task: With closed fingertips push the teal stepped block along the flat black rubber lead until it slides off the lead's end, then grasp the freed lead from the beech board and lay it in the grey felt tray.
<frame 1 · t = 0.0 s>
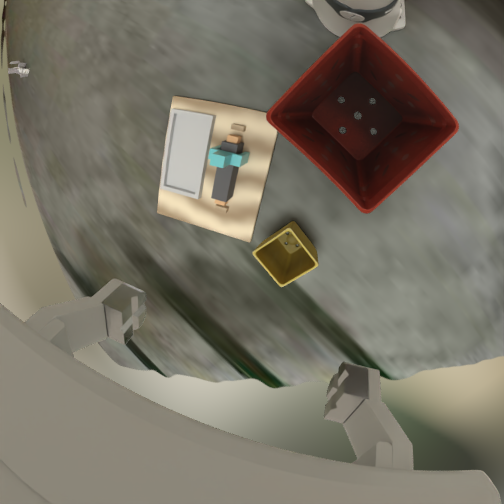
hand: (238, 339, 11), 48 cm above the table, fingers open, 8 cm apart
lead: (230, 168, 57), point 1 cm above the table, touching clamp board
flower pot: (292, 238, 61), on the table
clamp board: (213, 167, 59), on the table
plant pot: (356, 116, 48), on the table
architectural model: (35, 56, 56), on the table
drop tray: (187, 152, 57), resting on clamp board
teal stepped block: (225, 156, 51), point 6 cm above the table, slide at 0.0 cm
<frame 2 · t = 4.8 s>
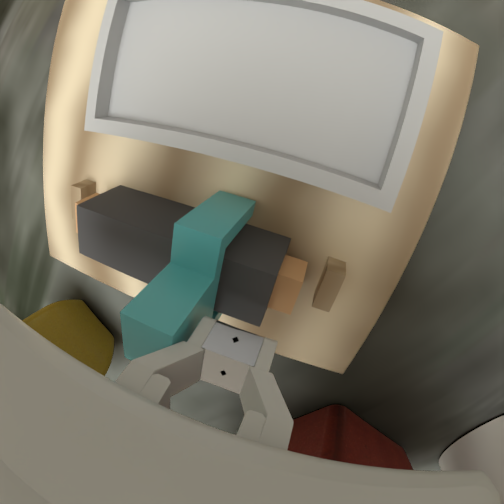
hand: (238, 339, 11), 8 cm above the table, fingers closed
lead: (193, 231, 18), point 1 cm above the table, touching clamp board
flower pot: (90, 323, 28), on the table
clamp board: (196, 157, 17), on the table
plant pot: (325, 443, 26), on the table
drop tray: (243, 68, 13), resting on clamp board
teal stepped block: (195, 285, 13), point 6 cm above the table, slide at 0.8 cm, touching gripper
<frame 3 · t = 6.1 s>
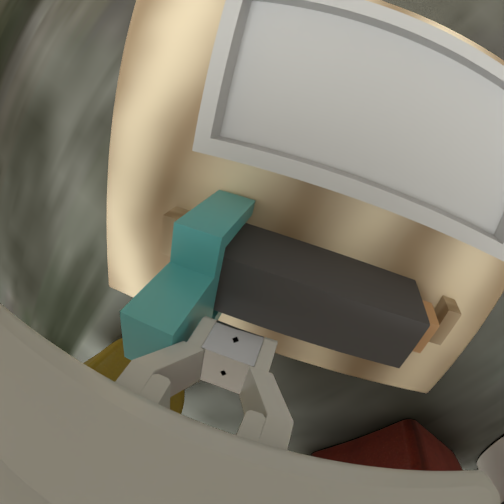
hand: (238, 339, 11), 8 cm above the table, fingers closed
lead: (316, 272, 17), point 1 cm above the table, touching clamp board
flower pot: (150, 355, 26), on the table
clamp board: (323, 193, 16), on the table
plant pot: (384, 454, 25), on the table
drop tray: (393, 109, 12), resting on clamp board
teal stepped block: (194, 284, 13), point 6 cm above the table, slide at 8.2 cm, touching gripper
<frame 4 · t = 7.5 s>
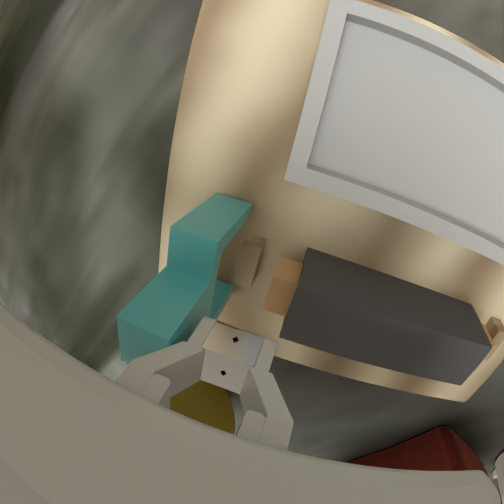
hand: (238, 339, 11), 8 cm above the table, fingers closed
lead: (388, 299, 16), point 1 cm above the table, touching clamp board
flower pot: (192, 376, 26), on the table
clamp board: (399, 224, 15), on the table
plant pot: (414, 458, 25), on the table
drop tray: (471, 149, 11), resting on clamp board
teal stepped block: (191, 288, 13), point 6 cm above the table, slide at 12.9 cm, touching gripper
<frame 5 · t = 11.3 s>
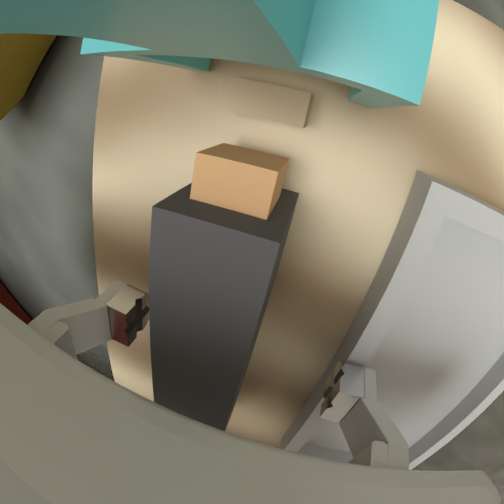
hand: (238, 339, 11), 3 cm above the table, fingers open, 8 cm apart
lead: (228, 308, 13), point 1 cm above the table, touching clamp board
flower pot: (31, 43, 10), on the table
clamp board: (329, 301, 13), on the table
plant pot: (31, 344, 24), on the table
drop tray: (416, 376, 12), resting on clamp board
teal stepped block: (245, 10, 4), point 6 cm above the table, slide at 12.9 cm
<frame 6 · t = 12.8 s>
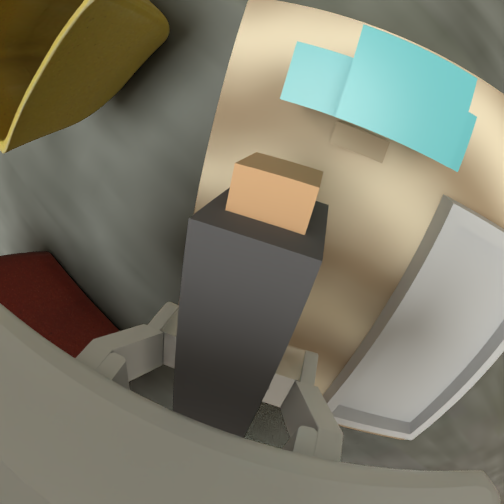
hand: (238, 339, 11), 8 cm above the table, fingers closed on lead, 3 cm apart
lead: (249, 316, 12), point 6 cm above the table, touching gripper
flower pot: (128, 40, 14), on the table
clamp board: (373, 281, 17), on the table
plant pot: (74, 319, 28), on the table
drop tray: (431, 344, 16), resting on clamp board
teal stepped block: (381, 103, 8), point 6 cm above the table, slide at 12.9 cm
when the fingers open (4 cm above the table, at t = 16.7 s): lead stays where it is, resting on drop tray.
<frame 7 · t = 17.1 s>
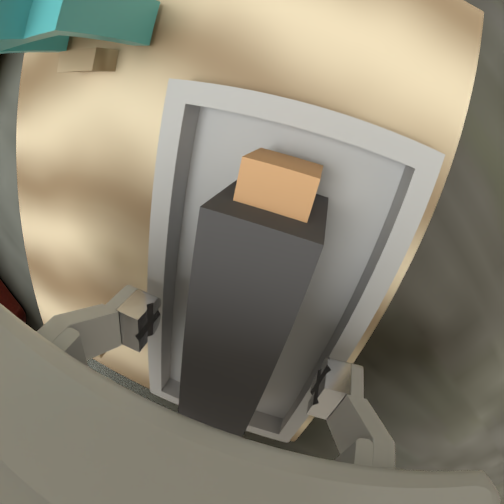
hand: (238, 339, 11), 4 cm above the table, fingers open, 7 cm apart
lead: (253, 306, 13), point 2 cm above the table, touching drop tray
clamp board: (162, 217, 14), on the table
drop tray: (254, 302, 13), resting on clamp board
teal stepped block: (26, 18, 5), point 6 cm above the table, slide at 12.9 cm
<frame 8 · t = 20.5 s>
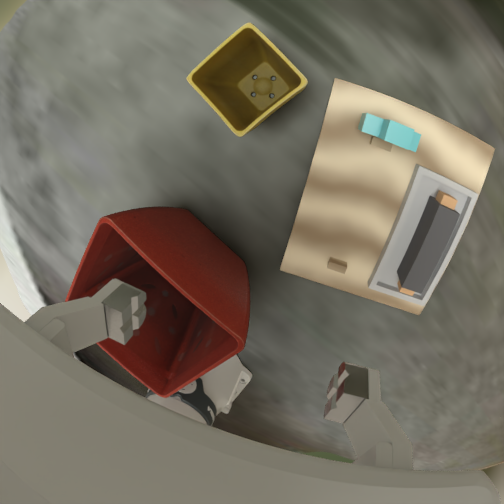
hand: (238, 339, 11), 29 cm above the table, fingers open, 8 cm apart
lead: (423, 238, 34), point 2 cm above the table, touching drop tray
flower pot: (264, 85, 33), on the table
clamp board: (389, 206, 35), on the table
plant pot: (193, 259, 47), on the table
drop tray: (422, 237, 34), resting on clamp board
teal stepped block: (391, 132, 26), point 6 cm above the table, slide at 12.9 cm
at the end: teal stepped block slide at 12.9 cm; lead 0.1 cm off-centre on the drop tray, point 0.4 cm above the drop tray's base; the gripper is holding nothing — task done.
